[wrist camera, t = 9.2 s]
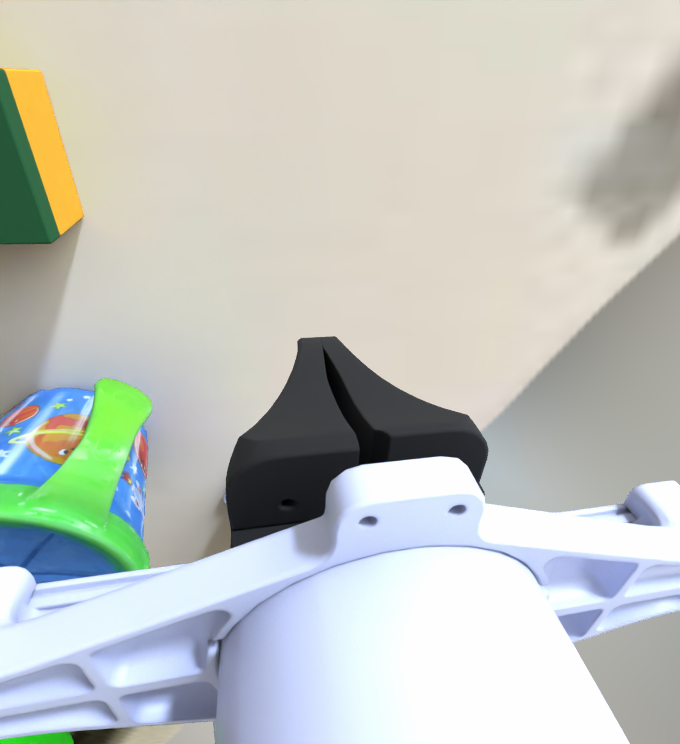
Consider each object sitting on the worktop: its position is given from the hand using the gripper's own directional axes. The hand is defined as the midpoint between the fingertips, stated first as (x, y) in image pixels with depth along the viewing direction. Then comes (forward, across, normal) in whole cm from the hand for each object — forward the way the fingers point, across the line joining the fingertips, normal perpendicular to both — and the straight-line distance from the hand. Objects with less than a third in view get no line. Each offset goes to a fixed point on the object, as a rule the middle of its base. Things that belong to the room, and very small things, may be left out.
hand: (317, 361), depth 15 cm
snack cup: (+10, +13, +10) cm, 19 cm away
